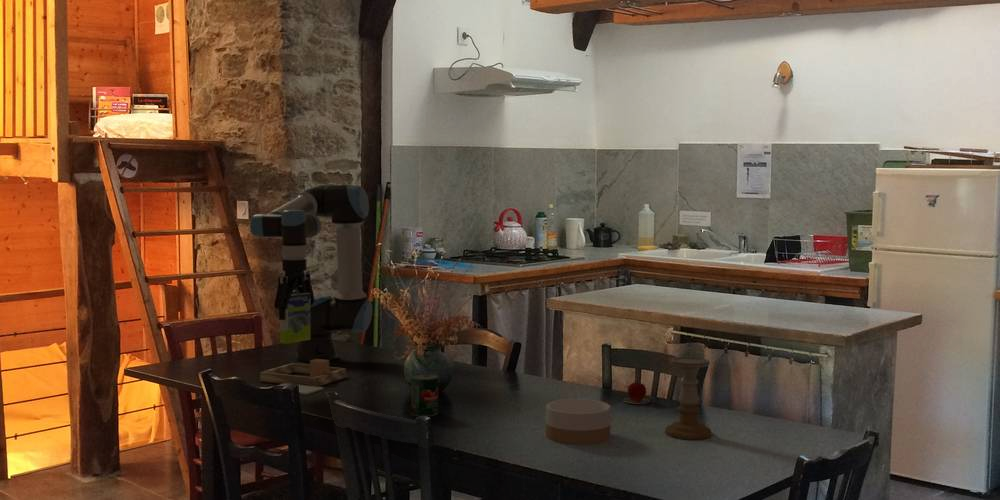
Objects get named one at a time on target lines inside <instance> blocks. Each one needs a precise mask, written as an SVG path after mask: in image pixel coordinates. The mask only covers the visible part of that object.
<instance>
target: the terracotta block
mask: <svg viewBox="0 0 1000 500" xmlns="http://www.w3.org/2000/svg"><path fill="white" fill-rule="evenodd" d="M309 365H310V374H309V377H317V376H321V375H324V374H327V373H329V367H330V360H324V359H314V360H311V361H310V362H309Z"/></svg>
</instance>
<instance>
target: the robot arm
mask: <svg viewBox="0 0 1000 500" xmlns="http://www.w3.org/2000/svg"><path fill="white" fill-rule="evenodd" d="M369 202H370V201H369V196H368V193H367V192H366V189H364V187H362V186H360V185H353V184H336V185H335V184H331V185H330V184H329V185H328V184H322V185H321V184H320V185H317V186H313V187H309V188H307V189H305V190H302V191H301V192H298V193H297V194H295V196H293V198H292V200H290V201H288V202H287V203H285V204H283V205H281V206H279V207H277V208H275V209H274V210H271V211H270V212H268V213H265V214H263V213H258V214H254V215H253V216H252V217H251V219H250V224H249V227H250V232H251V234H252V236H254V237H259V238H262V239H264V238H281V247H282V248H281V249H282V250H281V251H282V254H281V256H282V258H283V259H282V261H281V262H282V264H281V265H282V269H281V270H282V271H283V272H285V273H284V276H278V278H277V279H278V280H277V282H278V283H277V291H276V295H275V298H274V299H275V301H274V307H273V308H274V309H276V310H278V319H280V322H279V331H280V330H288V309H286V308H287V305H288V302H289V299H290V296H291V294H292V292H294V291H295V288H298V290H299V292H300V293H311V300H310V315H311V340H306V341H299V342H298V345H297V348H296V350H295V351H296V352H295V359H296V361H301V362H309V363H310V361H311V360H314V359H324V360H329V361H333V360H336V359H337V358H338V350H337V349H336V348H337V347H336V346H335V345H336V344H335V341H334V339H333V332H352V333H359V332H361V333H362V332H365V331H366V330H367V329H369V326H370V323H371V321H372V317H373V303H372V301H371V300H368V299H367V294H366V292H365V291H363V280H362V279H363V276H362V275H363V274H362V252H361V251H362V248H361V247H362V245H361V226H362V225H363V224H364V223H365V218H367V217H368V216H369V211H370V203H369ZM321 217H322V218H331V224H332V225H333V226H334V227H335V228H336V231H335V234H336V257H337V260H336V261H337V281H338V282H337V283H338V285H337V286H338V292H337V293H336V294H335V295H334V299H333V297H332V295H331V294H330V295H329V294H328V295H327V294H326V295H324V294H323V295H315V296H314V291H313V287H312V282H311V274H310V273H307V272H306V273H305V271H307V259H305V258H307V238H309V239H310V238H311V239H312V238H313V237H315V236H317V235H318V234H319V233H320V232H321V230H322V222H321V220H320V218H321ZM285 296H286V297H285ZM283 305H284V306H283Z"/></svg>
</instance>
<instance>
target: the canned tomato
mask: <svg viewBox="0 0 1000 500" xmlns="http://www.w3.org/2000/svg"><path fill="white" fill-rule="evenodd" d="M410 377H411V378H410V380H411V381H410V384H411V385H410V386H411V387H410V389H411V390H410V392H411V393H410V397H411V398H410V400H411V401H410V402H411V405H410V408H411V410H410V411H411V412H410V414H411V415H412V416H414V415H415V417H419V415H426V416H429V417H434V416H437V415H438V414H439V375H438V374H435V373H415V374H412V375H411V376H410Z"/></svg>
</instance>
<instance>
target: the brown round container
mask: <svg viewBox="0 0 1000 500" xmlns="http://www.w3.org/2000/svg"><path fill="white" fill-rule="evenodd" d="M611 415H612V414H611V405H610V404H609V403H607V402H604V401H600V400H596V399H591V398H590V399H588V398H565V399H556V400H553V401H549V402H548V403H547V404H546V405H545V437H546V438H547V439H548V440H550V441H552V442H556V443H559V444H565V445H574V444H579V445H581V446H582V445H585V446H586V445H587V444H588V445H595V444H596V443H597V444H601V442H602V443H605V442H607V441H609V440H610V439H611V421H612V420H611V418H612V416H611ZM608 439H609V440H608ZM604 441H605V442H604ZM579 445H578V446H579Z"/></svg>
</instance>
